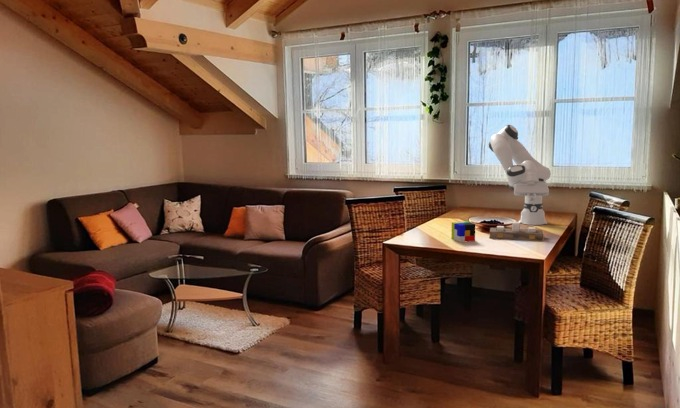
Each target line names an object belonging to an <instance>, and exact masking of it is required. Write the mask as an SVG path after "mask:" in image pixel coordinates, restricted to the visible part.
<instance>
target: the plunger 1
mask: <svg viewBox="0 0 680 408" xmlns="http://www.w3.org/2000/svg"><path fill="white" fill-rule="evenodd" d="M496 228H497V231H504V228H505V226H504V225H497V226H496Z"/></svg>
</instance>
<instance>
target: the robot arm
mask: <svg viewBox="0 0 680 408" xmlns="http://www.w3.org/2000/svg"><path fill="white" fill-rule="evenodd" d="M518 136H519V133H518V130H517V128H516V127H515V126H513V125H511V124H507V125H505V126H504V127H503V128H501V129H500V130H499V131H498V132H497V133H495V134H492V136H491V137H490V140H489V142H488V148H489V149H490V150H491V152H493V153H494V155H495V156H496V159H498V161H499V163H500V165H501V166H502V168H503V170H504V172H505V174H506V177H507V182H508V183H507V185H508V188H509V189H510V190H513V194H514V196H518V197H519V196H520V197H523V196H524V203H523V209H522V210H521V211H520V219H519V220H518V221H517V222H520V224H522V225H523V224H524V225H529V226H541V225H548V221H546V218H545V211H544V210H543V206H544V205H543V204H544V203H543V197H547V196H549V194H550V189H549V185H548V183H547V181H548V180H550V178H551V174H552V173H551V170H550V168H549V167H547V166H546V165H543V164H541V163H540V162H539V161H538V160H536V159H535V158H534V157H533V156H532V155H531V153H530V152H529V151H528V149H527V148H526V147H525V145H523V144H522V142H520V141H519V140H518V139H519V137H518ZM513 161H514V162H513ZM514 163H515V164H514Z"/></svg>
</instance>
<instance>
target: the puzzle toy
mask: <svg viewBox="0 0 680 408" xmlns="http://www.w3.org/2000/svg"><path fill="white" fill-rule="evenodd" d="M451 240H454V241H456V242H458V241H459V243H464V242H465V241H467V242H475V241H476V223H473V222H470V221H468V220H466V221H456V222H455V221H452V222H451ZM465 243H466V242H465Z"/></svg>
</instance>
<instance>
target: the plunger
mask: <svg viewBox="0 0 680 408" xmlns="http://www.w3.org/2000/svg"><path fill="white" fill-rule="evenodd" d="M527 229H528V232H536V230H537V227H535V226H534V227H533V226H532V227H531V226H528V228H527Z"/></svg>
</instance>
